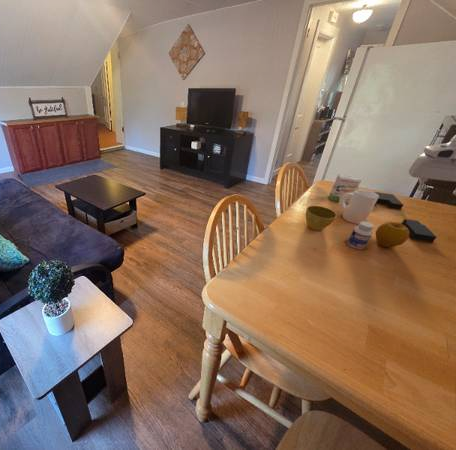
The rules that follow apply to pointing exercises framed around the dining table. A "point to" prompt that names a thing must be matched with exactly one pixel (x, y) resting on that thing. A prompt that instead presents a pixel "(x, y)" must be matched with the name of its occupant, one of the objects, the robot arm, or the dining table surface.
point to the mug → (358, 205)
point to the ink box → (344, 187)
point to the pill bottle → (361, 235)
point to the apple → (391, 234)
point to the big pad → (389, 200)
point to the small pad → (418, 231)
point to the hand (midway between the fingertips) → (438, 192)
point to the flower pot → (319, 217)
